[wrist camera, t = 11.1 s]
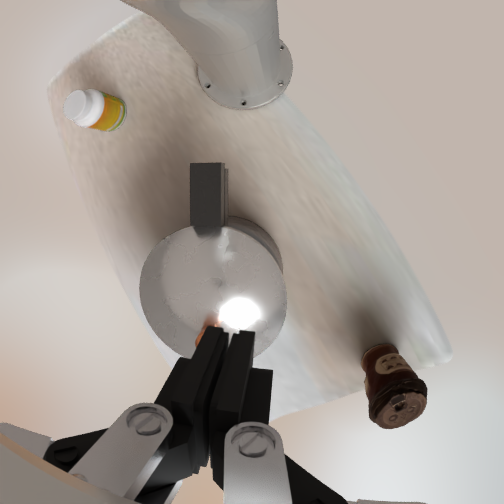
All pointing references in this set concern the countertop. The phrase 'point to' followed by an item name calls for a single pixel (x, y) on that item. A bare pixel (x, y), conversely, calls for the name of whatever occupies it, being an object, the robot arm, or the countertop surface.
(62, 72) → the countertop surface
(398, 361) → the coffee cup
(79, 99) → the supplement bottle
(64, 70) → the countertop surface
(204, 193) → the cooker lid
